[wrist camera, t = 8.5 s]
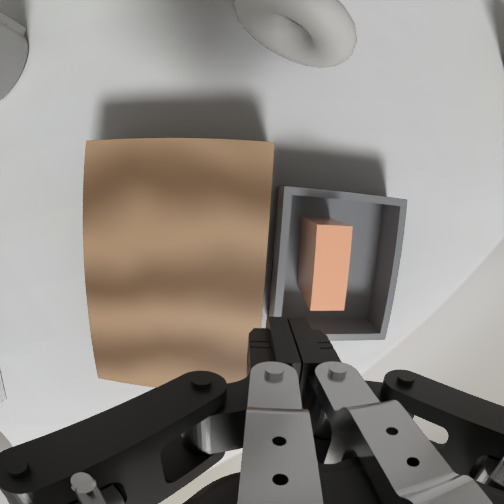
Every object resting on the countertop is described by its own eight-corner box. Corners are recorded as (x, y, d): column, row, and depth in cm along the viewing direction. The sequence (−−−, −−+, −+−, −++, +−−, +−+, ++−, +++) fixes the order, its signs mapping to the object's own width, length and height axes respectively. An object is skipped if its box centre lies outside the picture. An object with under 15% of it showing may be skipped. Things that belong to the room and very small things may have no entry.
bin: (278, 186, 27) (284, 186, 23) (386, 197, 27) (407, 199, 23) (268, 320, 29) (271, 339, 25) (369, 321, 30) (384, 339, 26)
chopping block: (111, 147, 26) (86, 140, 21) (269, 150, 26) (274, 142, 21) (116, 352, 30) (98, 378, 25) (253, 365, 30) (255, 395, 25)
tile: (317, 224, 21) (352, 226, 21) (301, 216, 27) (330, 217, 27) (310, 310, 22) (344, 310, 22) (297, 285, 28) (324, 285, 28)
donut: (343, 61, 25) (384, 12, 15) (326, 88, 25) (364, 45, 15) (247, 11, 23) (249, -54, 14) (228, 36, 24) (221, -26, 14)
